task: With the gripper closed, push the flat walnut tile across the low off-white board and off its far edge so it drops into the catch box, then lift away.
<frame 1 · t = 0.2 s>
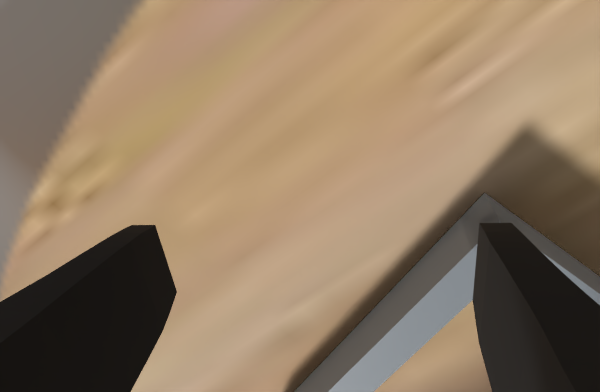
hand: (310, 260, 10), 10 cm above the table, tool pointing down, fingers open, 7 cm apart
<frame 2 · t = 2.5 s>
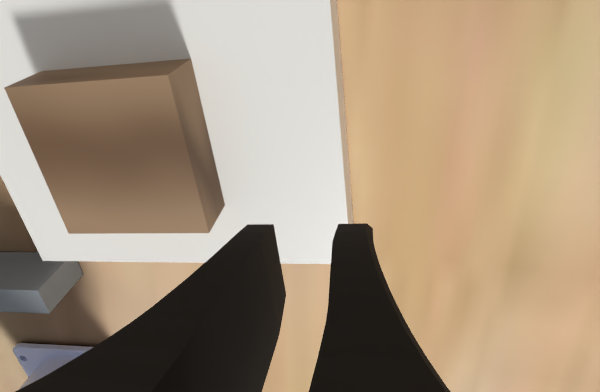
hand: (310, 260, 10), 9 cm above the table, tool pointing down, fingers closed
board: (169, 121, 20), on the table
tile: (137, 141, 18), point 2 cm above the table, touching board
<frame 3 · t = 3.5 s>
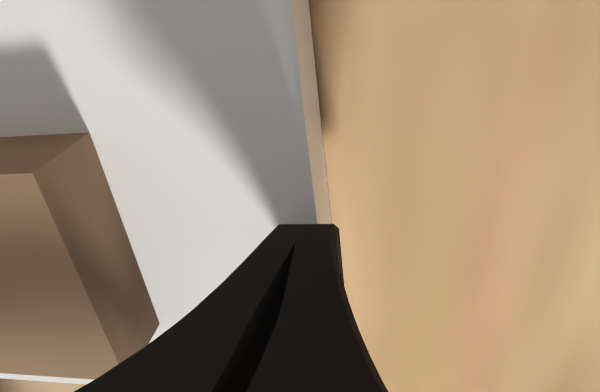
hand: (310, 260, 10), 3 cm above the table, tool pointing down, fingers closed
board: (86, 201, 14), on the table
tile: (29, 239, 13), point 2 cm above the table, touching board
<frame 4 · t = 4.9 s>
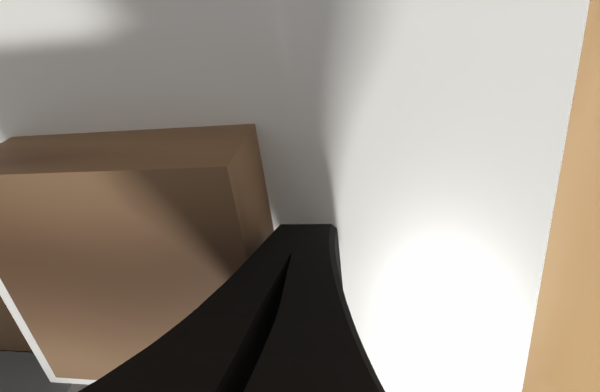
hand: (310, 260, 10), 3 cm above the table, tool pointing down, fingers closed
board: (241, 198, 13), on the table
tile: (161, 240, 12), point 2 cm above the table, touching gripper
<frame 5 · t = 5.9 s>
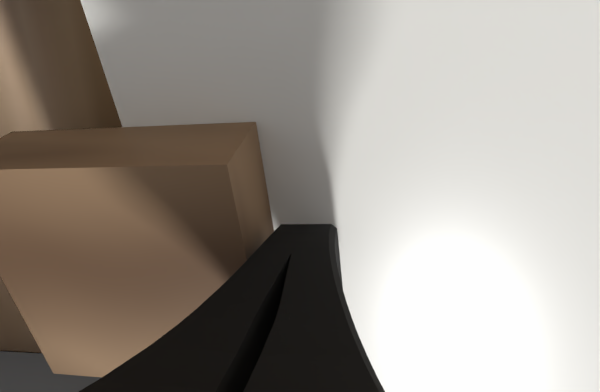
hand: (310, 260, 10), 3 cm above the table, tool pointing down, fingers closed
board: (457, 193, 12), on the table
tile: (161, 237, 12), point 2 cm above the table, touching board, gripper
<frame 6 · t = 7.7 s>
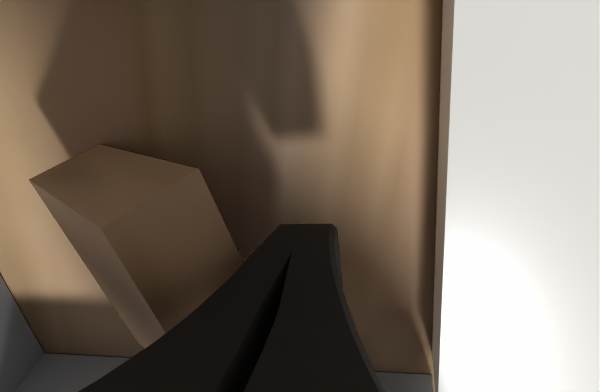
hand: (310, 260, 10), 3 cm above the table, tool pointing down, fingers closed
tile: (191, 254, 12), point 2 cm above the table, tilted 38°, touching gripper
catch box: (157, 200, 14), on the table
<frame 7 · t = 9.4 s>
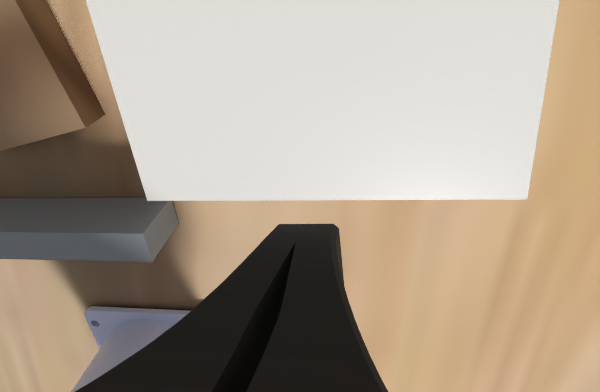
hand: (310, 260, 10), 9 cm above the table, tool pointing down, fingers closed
board: (316, 31, 17), on the table
tile: (20, 62, 20), on the table
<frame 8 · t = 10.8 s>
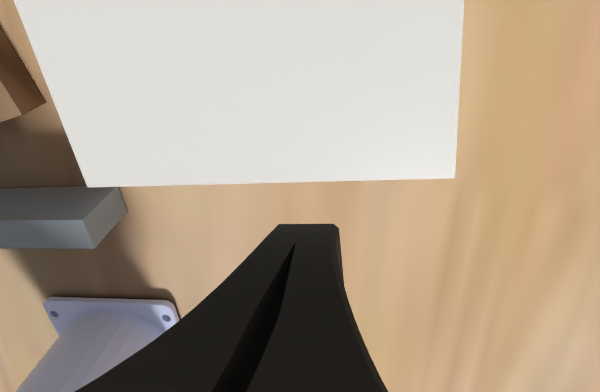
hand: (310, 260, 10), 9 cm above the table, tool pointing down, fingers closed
board: (242, 13, 17), on the table
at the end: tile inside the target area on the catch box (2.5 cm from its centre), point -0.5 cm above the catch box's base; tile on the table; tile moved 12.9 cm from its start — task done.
